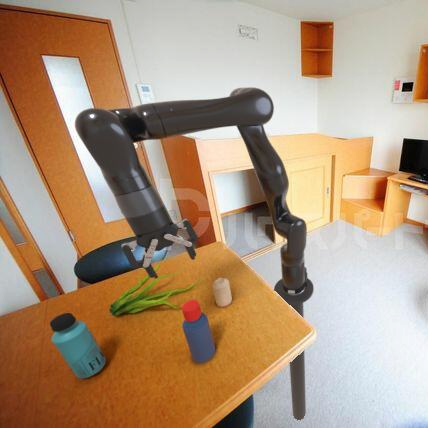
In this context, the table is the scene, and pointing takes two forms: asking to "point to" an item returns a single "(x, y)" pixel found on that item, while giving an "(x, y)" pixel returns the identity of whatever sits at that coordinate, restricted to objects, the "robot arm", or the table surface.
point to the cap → (191, 310)
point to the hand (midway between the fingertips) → (175, 267)
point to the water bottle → (199, 339)
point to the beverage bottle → (77, 345)
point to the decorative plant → (143, 297)
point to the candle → (222, 292)
